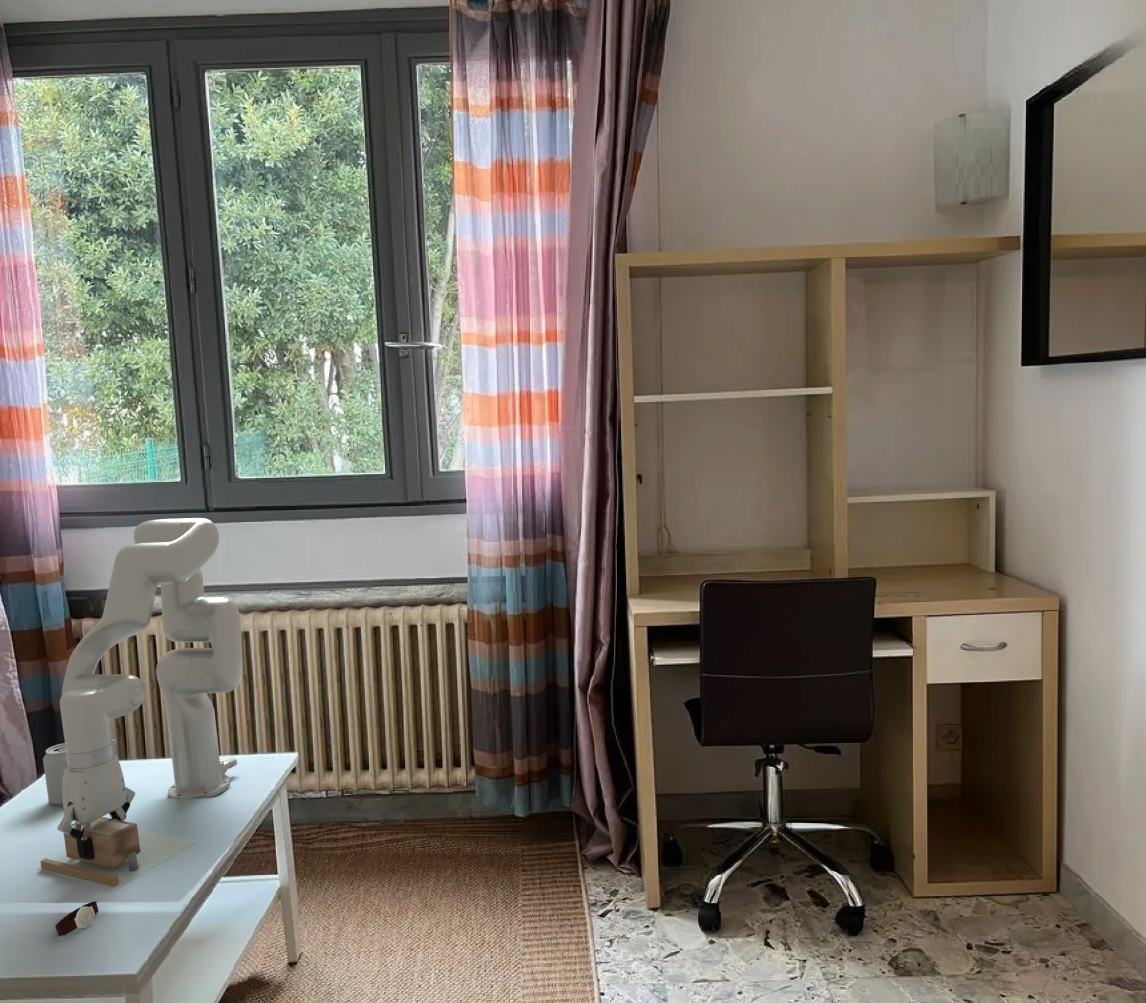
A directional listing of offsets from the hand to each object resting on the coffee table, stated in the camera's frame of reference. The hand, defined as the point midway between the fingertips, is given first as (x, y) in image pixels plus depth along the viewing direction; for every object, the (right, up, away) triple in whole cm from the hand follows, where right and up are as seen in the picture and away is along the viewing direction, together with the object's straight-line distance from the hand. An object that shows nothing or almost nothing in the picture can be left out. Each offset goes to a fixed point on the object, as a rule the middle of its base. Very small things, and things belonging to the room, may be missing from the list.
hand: (102, 848), depth 175 cm
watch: (+5, -6, -18) cm, 20 cm away
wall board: (+1, -3, +3) cm, 5 cm away
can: (-23, -1, +32) cm, 40 cm away
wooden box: (0, -1, 0) cm, 1 cm away
